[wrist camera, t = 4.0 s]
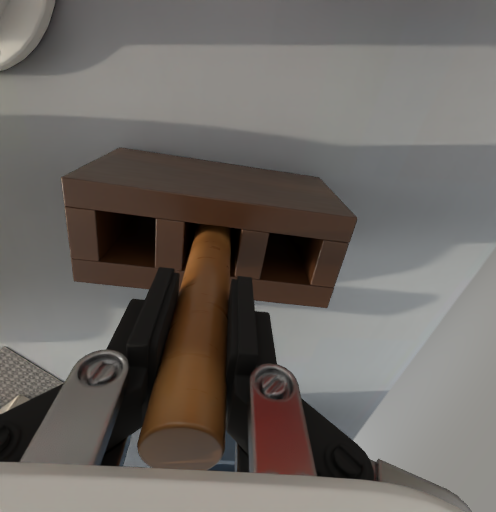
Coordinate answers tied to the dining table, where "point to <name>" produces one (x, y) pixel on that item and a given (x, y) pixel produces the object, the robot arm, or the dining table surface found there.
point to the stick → (193, 364)
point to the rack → (205, 212)
